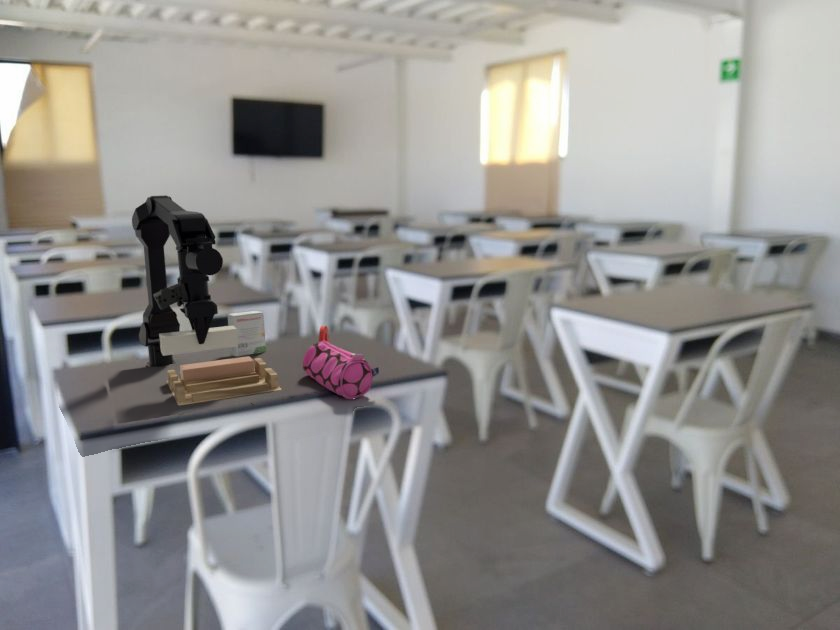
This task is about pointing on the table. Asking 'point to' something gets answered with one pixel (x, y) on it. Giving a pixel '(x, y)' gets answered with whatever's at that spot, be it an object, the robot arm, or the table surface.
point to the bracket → (323, 334)
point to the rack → (224, 385)
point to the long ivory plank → (189, 342)
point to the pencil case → (339, 370)
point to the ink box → (248, 333)
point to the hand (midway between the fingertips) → (199, 341)
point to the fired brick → (216, 369)
